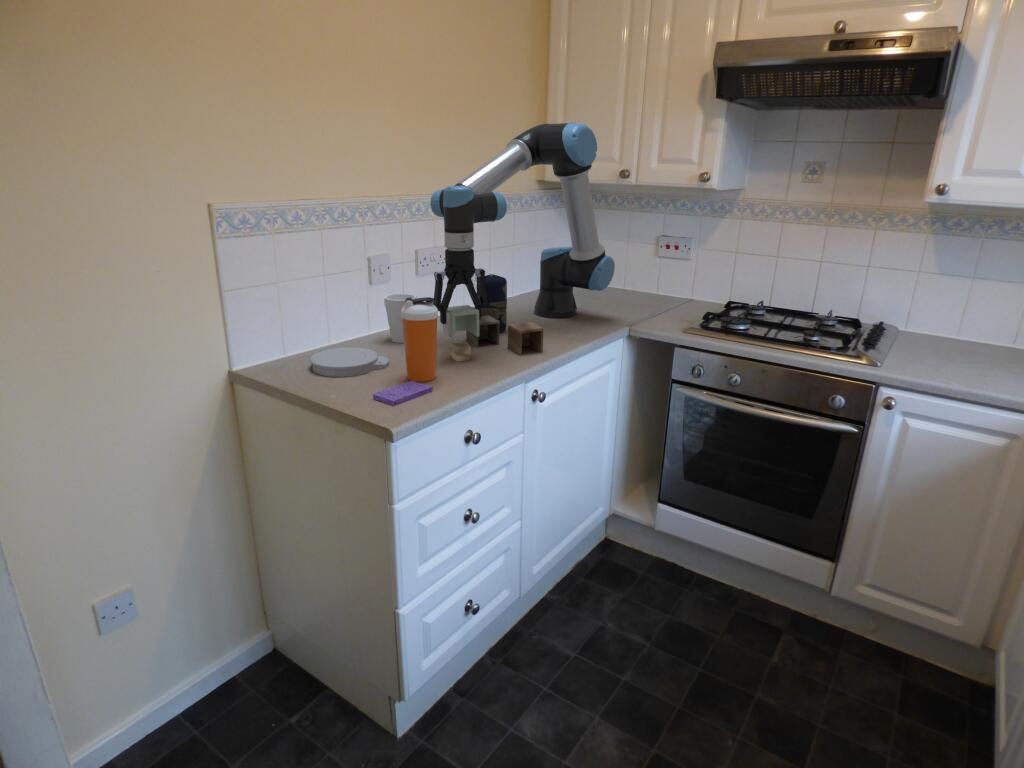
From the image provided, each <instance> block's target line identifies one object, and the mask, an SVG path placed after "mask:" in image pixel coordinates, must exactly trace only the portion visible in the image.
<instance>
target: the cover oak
mask: <svg viewBox="0 0 1024 768" xmlns="http://www.w3.org/2000/svg"><path fill="white" fill-rule="evenodd" d="M500 333H501V332H500V321H498V320H497V319H495V318H493V317H491V316H481V320H479V336H478V337H477V336H475V335H474V334H472V333H470V332H469V331H465V341H467V342H468V344H471V345H472V346H474V347H475V348H478V347H479V340H489V341H491V342H492V343H494V344H496V345H500V338H501V337H500V336H501V335H500Z"/></svg>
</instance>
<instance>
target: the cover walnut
mask: <svg viewBox="0 0 1024 768" xmlns="http://www.w3.org/2000/svg"><path fill="white" fill-rule="evenodd" d="M526 347H530V348H532V349H534V350H536V351H538V352H539V353H543V351H544V327H542V326H541V325H538V324H537V323H534V322H531V321H528V322H520V323H519V322H517V323H507V349H508V350H510V351H513V352H514V353H515V354H517V355H519V356H521V355H522V354H523V353H522V351H523V350H522V349H523V348H526Z"/></svg>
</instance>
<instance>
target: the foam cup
mask: <svg viewBox="0 0 1024 768" xmlns="http://www.w3.org/2000/svg"><path fill="white" fill-rule="evenodd" d="M407 297H411V298H412V299H416V298H418V297H417V295H416V294H409V293H392V294H388V295H385V296H384V297H383V298H384V307H385V310H386V316H387V322H388V327H389V334H390V338H391V341H392V342H393V343H396V344H397V343H398V344H399V343H401V344H404V333H403V322H402V318H401V309H402V308H403V306H404V305H405V299H406V298H407Z"/></svg>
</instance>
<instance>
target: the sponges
mask: <svg viewBox="0 0 1024 768" xmlns="http://www.w3.org/2000/svg"><path fill="white" fill-rule="evenodd" d="M433 387H434V386H433V385H428V384H424V383H422V382H416V381H411V380H409V381H407V382H403V383H401V384H399V385H395V386H392V387H390V388H386V389H383V390H381V391H376V392H374V393H372V400H375V401H379V402H380V403H381V402H382V403H384V404H388V405H389V406H390V405H391V406H398V405H399V404H400V405H401V404H402V403H406V402H408V401H411V400H413V399H416V398H418V397H421V396H424V395H427V394H430V393H432V391H434V388H433Z"/></svg>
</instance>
